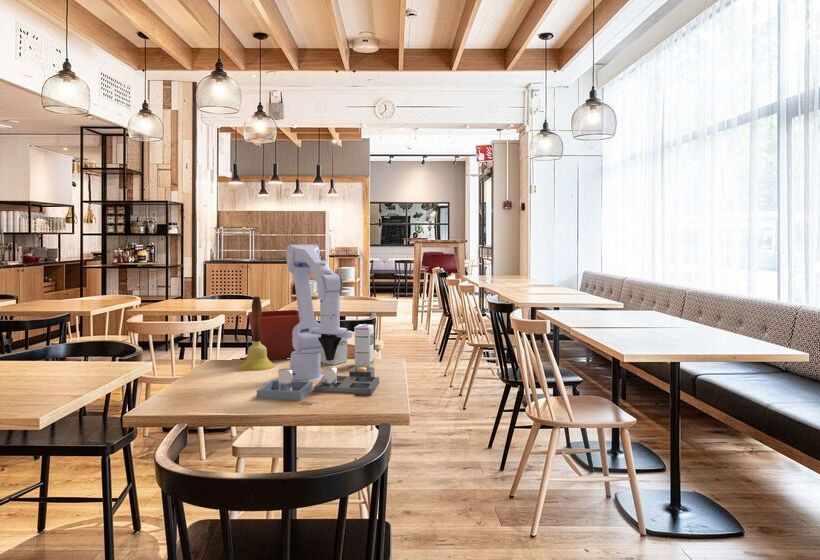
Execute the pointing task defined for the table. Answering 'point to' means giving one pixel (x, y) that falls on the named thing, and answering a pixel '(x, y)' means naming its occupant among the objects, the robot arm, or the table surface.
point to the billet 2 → (329, 377)
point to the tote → (273, 393)
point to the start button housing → (362, 372)
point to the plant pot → (277, 332)
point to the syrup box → (364, 345)
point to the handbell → (257, 344)
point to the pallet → (351, 385)
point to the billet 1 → (285, 380)
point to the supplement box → (337, 353)
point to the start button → (361, 369)
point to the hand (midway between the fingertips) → (330, 360)
